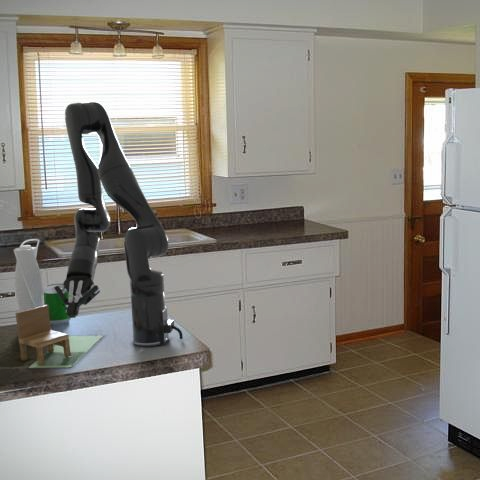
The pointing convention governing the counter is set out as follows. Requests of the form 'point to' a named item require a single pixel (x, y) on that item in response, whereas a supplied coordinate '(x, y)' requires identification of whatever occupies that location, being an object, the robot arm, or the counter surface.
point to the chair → (39, 333)
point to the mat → (77, 350)
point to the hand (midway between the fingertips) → (71, 316)
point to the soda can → (56, 305)
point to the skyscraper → (28, 277)
